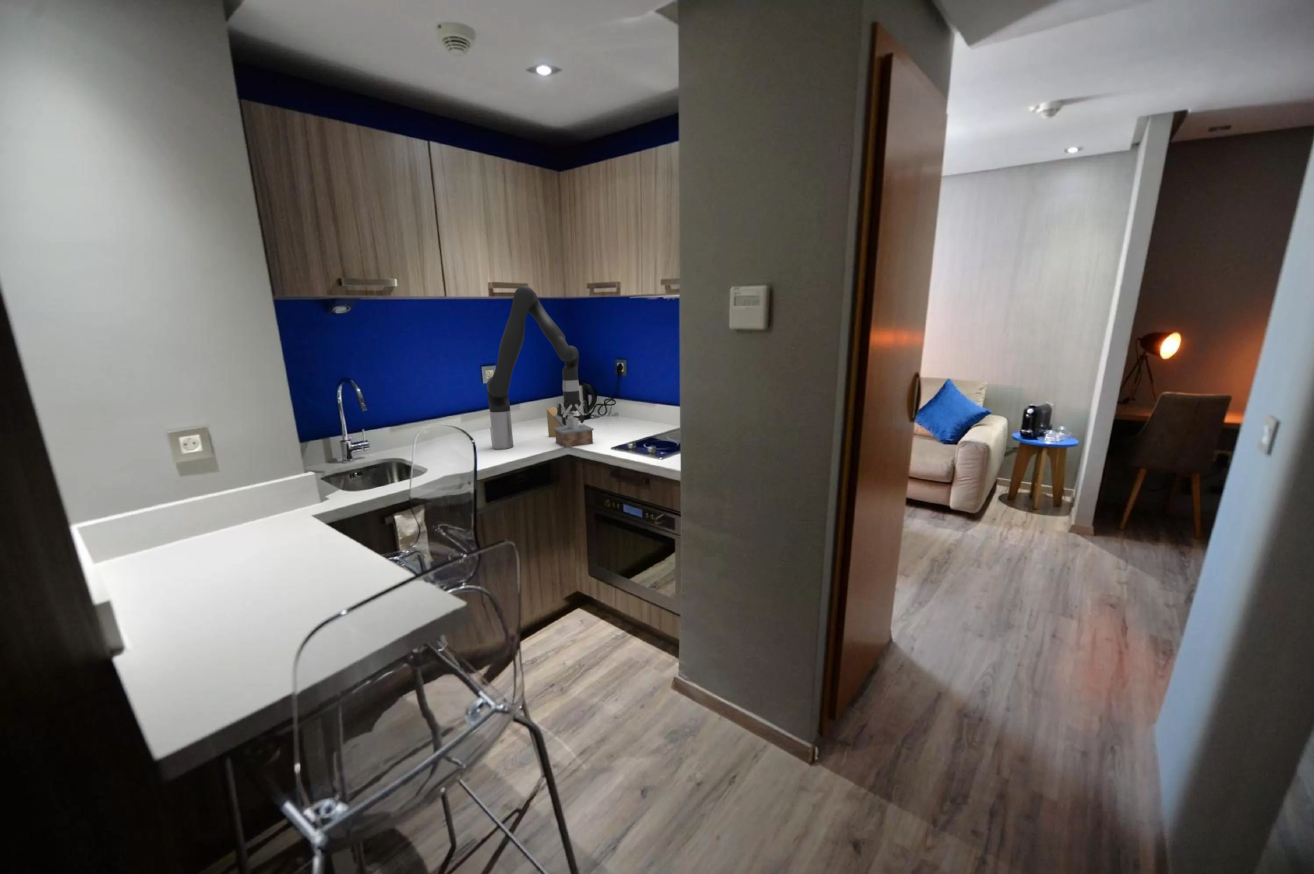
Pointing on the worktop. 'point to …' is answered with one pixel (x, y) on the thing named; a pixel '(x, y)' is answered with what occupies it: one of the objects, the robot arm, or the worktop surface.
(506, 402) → the robot arm
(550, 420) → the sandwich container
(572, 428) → the lid
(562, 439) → the box
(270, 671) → the worktop surface
